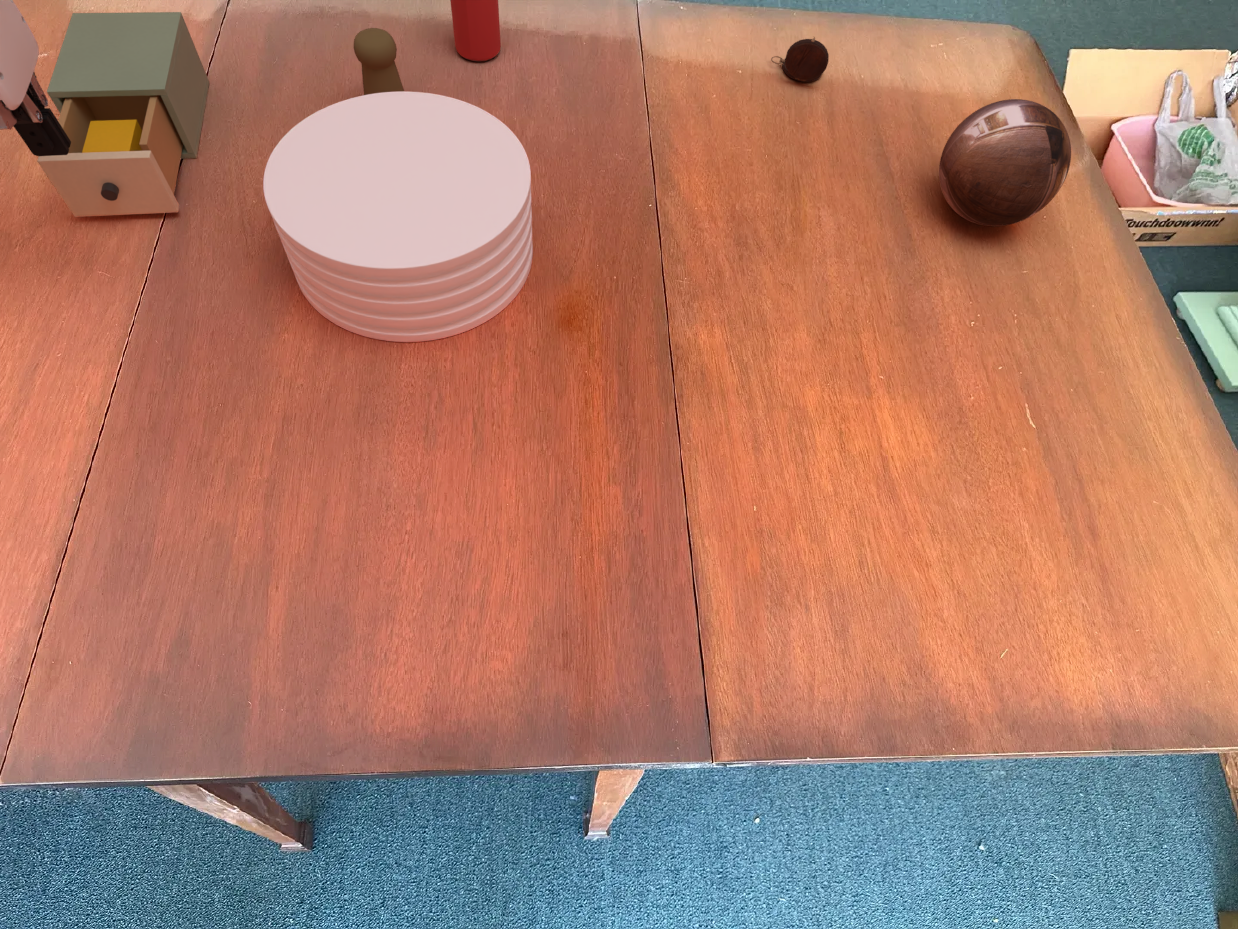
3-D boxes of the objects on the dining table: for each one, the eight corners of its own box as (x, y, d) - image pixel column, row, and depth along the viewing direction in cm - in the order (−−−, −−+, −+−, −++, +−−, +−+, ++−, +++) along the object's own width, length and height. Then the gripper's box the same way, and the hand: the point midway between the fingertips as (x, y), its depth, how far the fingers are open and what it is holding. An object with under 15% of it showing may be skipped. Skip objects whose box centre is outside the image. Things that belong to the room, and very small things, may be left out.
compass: (823, 63, 120) (838, 15, 113) (818, 93, 116) (833, 46, 109) (772, 52, 120) (784, 4, 114) (765, 82, 116) (778, 34, 110)
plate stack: (294, 355, 84) (260, 281, 75) (293, 181, 98) (264, 98, 88) (549, 327, 89) (549, 254, 79) (515, 164, 103) (511, 84, 93)
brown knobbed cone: (376, 132, 104) (359, 54, 94) (358, 106, 106) (339, 27, 96) (418, 120, 106) (405, 41, 96) (399, 94, 108) (385, 15, 98)
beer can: (464, 67, 112) (455, -20, 102) (449, 41, 115) (439, -46, 105) (507, 59, 114) (503, -27, 104) (492, 33, 117) (486, -53, 106)
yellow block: (102, 191, 92) (80, 156, 87) (111, 156, 95) (90, 120, 90) (148, 189, 92) (128, 154, 88) (155, 155, 95) (136, 119, 91)
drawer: (177, 219, 92) (147, 164, 85) (72, 224, 90) (34, 168, 84) (192, 132, 100) (166, 76, 93) (96, 135, 98) (62, 78, 91)
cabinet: (196, 158, 99) (164, 88, 90) (89, 162, 97) (46, 91, 88) (209, 82, 106) (181, 11, 98) (110, 84, 104) (72, 12, 96)
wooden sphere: (900, 182, 107) (948, 80, 94) (992, 166, 110) (1051, 66, 97) (955, 259, 100) (1016, 162, 87) (1052, 240, 103) (1123, 143, 90)
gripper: (-104, -99, 64) (29, 103, 80) (-166, 5, 56) (-7, 205, 72) (-4, -99, 65) (107, 100, 81) (-53, 2, 57) (80, 200, 73)
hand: (53, 149), depth 76 cm, fingers closed
